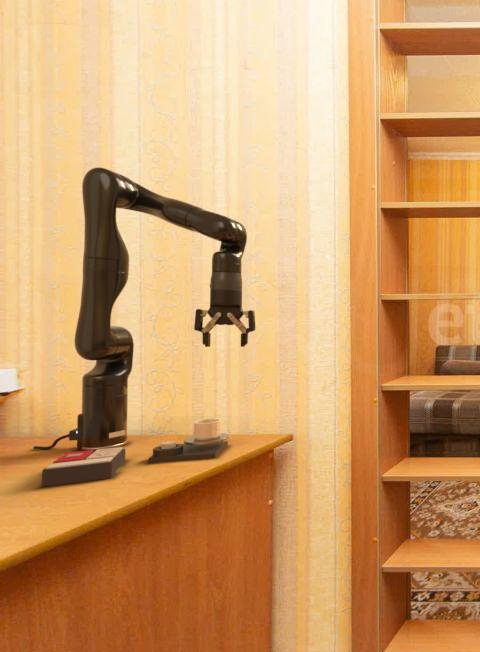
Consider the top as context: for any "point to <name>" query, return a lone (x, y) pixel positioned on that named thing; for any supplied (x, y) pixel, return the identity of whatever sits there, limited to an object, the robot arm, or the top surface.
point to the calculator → (83, 466)
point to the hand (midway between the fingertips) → (225, 346)
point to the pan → (194, 441)
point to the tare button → (168, 444)
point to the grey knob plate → (187, 452)
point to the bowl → (207, 429)
